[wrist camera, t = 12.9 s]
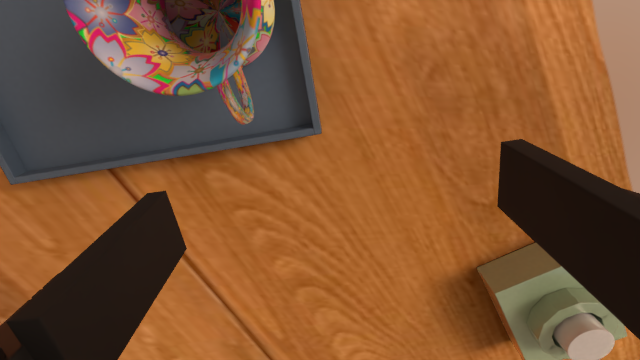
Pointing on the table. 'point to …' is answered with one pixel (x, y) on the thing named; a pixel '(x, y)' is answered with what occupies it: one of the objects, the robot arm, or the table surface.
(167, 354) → the table surface
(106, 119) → the tray
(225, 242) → the table surface
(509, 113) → the table surface
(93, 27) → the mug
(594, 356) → the button
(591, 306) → the green button box
